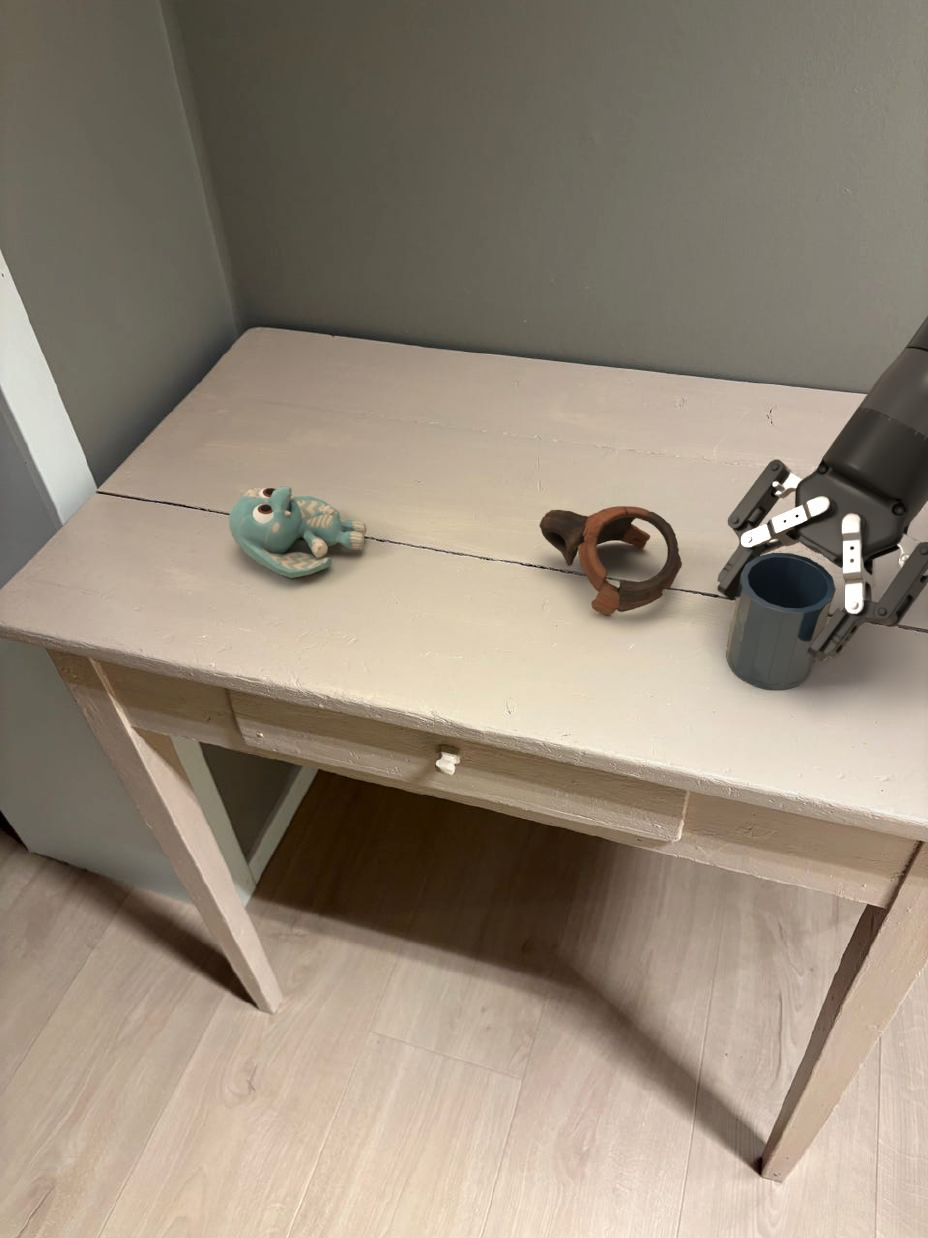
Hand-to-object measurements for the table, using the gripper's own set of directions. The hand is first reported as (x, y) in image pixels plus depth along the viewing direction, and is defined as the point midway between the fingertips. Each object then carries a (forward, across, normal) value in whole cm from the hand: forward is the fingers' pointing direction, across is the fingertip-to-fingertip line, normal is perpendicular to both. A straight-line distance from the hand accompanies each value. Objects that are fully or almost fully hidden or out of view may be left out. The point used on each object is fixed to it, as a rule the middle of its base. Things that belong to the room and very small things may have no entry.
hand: (768, 625), depth 70 cm
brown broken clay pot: (+5, -15, +2) cm, 16 cm away
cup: (+2, 0, +4) cm, 5 cm away
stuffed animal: (+17, -35, -11) cm, 41 cm away
